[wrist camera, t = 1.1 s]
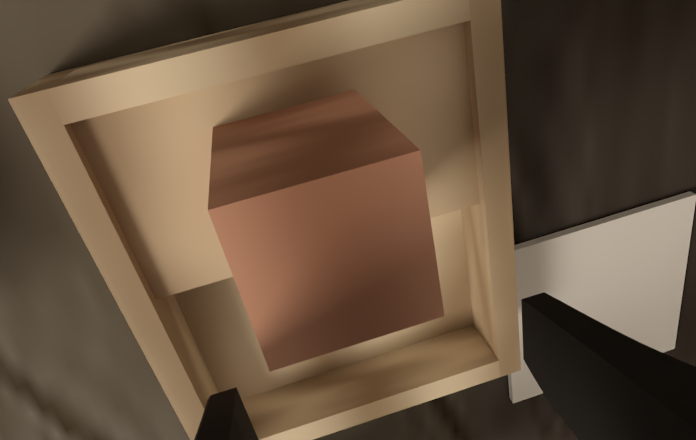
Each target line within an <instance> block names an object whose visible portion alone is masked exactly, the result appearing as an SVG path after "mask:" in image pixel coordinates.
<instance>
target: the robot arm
mask: <svg viewBox="0 0 696 440" xmlns="http://www.w3.org/2000/svg"><path fill="white" fill-rule="evenodd" d="M521 305H522V333H523V360H524V361H525V363H526V365H527V366H528V368H529V370H530V372H531V373H532V375H533V377H534V379H535V380H536V382H537V383H538V385H539V387H540V388H541V390H542V392H543V393H544V395H545V396H546V398H547V399H548V400H549V402H550V403H551V404H552V406H553V407H554V408H555V409H556V411H557V412H558V413H559V415H560V416H561V417H562V419H563V420H564V421H565V422H566V424H567V425H568V426H569V428H570V429H571V430H572V431H573V433H574V434H575V435H576V437H577V438H578V439H579V440H696V367H694V366H692V365H690V364H687V363H685V362H682V361H680V360H678V359H675V358H673V357H671V356H669V355H666V354H664V353H662V352H660V351H658V350H655V349H653V348H651V347H649V346H647V345H644V344H642V343H640V342H638V341H636V340H634V339H632V338H630V337H628V336H626V335H624V334H622V333H620V332H618V331H616V330H614V329H612V328H610V327H608V326H606V325H604V324H603V323H601V322H599V321H597V320H595V319H593V318H591V317H589V316H587V315H586V314H584V313H582V312H580V311H578V310H576V309H575V308H573V307H571V306H569V305H567V304H565V303H563V302H562V301H560V300H558V299H556V298H554V297H552V296H550V295H548V294H547V293H545V292H543V293H540V294H537V295H533V296H530V297H527V298H524V299H521ZM194 440H259V439H258V437H257V435H256V432H255V430H254V428H253V425H252V423H251V421H250V418H249V416H248V414H247V411H246V409H245V407H244V404H243V402H242V400H241V397H240V395H239V392H238V390H237V388H236V387H235V388H232V389H229V390H226V391H222V392H219V393H216V394H213V395H210V397H209V399H208V400H207V403H206V406H205V410H204V413H203V416H202V419H201V422H200V425H199V428H198V430H197V433H196V436H195V439H194Z"/></svg>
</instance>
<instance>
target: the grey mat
mask: <svg viewBox="0 0 696 440" xmlns="http://www.w3.org/2000/svg"><path fill="white" fill-rule="evenodd" d="M695 203H696V194H695V193H693V192H691V191H689V192H686V193H682V194H679V195H676V196H673V197H669V198H666V199H663V200H660V201H656V202H653V203H650V204H647V205H643V206H640V207H637V208H634V209H630V210H627V211H624V212H621V213H617V214H614V215H611V216H608V217H604V218H601V219H598V220H595V221H591V222H588V223H585V224H582V225H578V226H575V227H572V228H569V229H565V230H562V231H559V232H555V233H552V234H549V235H546V236H542V237H539V238H536V239H533V240H529V241H526V242H523V243H520V244H516V245H514V250H515V268H516V287H517V305H518V323H519V342H520V360H521V370H520V371H517V372H514V373H511V374H508V384H509V398H510V400H511V401H512V403H516V402H519V401H522V400H525V399H528V398H531V397H534V396H537V395H540V394H542V393H543V392H542V390H541V388H540V387H539V385H538V383H537V382H536V380H535V379H534V377H533V375H532V373H531V372H530V370H529V368H528V366H527V365H526V363H525V361H524V360H523V333H522V305H521V299H524V298H527V297H530V296H533V295H537V294H540V293H543V292H545V293H547V294H548V295H550V296H552V297H554V298H556V299H558V300H560V301H562V302H563V303H565V304H567V305H569V306H571V307H573V308H575V309H576V310H578V311H580V312H582V313H584V314H586V315H587V316H589V317H591V318H593V319H595V320H597V321H599V322H601V323H603V324H604V325H606V326H608V327H610V328H612V329H614V330H616V331H618V332H620V333H622V334H624V335H626V336H628V337H630V338H632V339H634V340H636V341H638V342H640V343H642V344H644V345H647V346H649V347H651V348H653V349H655V350H658V351H660V352H662V353H663V352H666V351H669V350H672V349H675V343H676V336H677V329H678V322H679V315H680V308H681V301H682V294H683V287H684V280H685V273H686V266H687V259H688V252H689V245H690V238H691V231H692V224H693V217H694V210H695Z"/></svg>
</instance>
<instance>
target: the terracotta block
mask: <svg viewBox="0 0 696 440" xmlns="http://www.w3.org/2000/svg"><path fill="white" fill-rule="evenodd" d="M208 212H209V215H210V218H211V220H212V223H213V225H214V228H215V231H216V233H217V236H218V238H219V241H220V244H221V246H222V249H223V251H224V254H225V257H226V259H227V262H228V264H229V267H230V270H231V272H232V275H233V277H234V280H235V283H236V285H237V288H238V290H239V293H240V296H241V298H242V301H243V303H244V306H245V309H246V311H247V314H248V316H249V319H250V322H251V324H252V327H253V329H254V332H255V335H256V337H257V340H258V342H259V345H260V348H261V350H262V353H263V355H264V358H265V361H266V363H267V366H268V368H269V371H270V372H271V371H274V370H277V369H280V368H283V367H286V366H290V365H293V364H296V363H299V362H302V361H305V360H308V359H312V358H315V357H318V356H321V355H324V354H327V353H330V352H334V351H337V350H340V349H343V348H346V347H349V346H353V345H356V344H359V343H362V342H365V341H368V340H371V339H375V338H378V337H381V336H384V335H387V334H390V333H393V332H397V331H400V330H403V329H406V328H409V327H412V326H416V325H419V324H422V323H425V322H428V321H431V320H434V319H438V318H441V317H444V309H443V302H442V295H441V288H440V281H439V274H438V267H437V260H436V253H435V246H434V239H433V232H432V226H431V219H430V212H429V205H428V198H427V191H426V184H425V177H424V170H423V163H422V156H421V150H420V149H419V148H418V147H417V146H416V145H414V144H413V143H412V142H411V141H410V140H409V139H408V138H407V137H406V136H405V135H404V134H402V133H401V132H400V131H399V130H398V129H397V128H396V127H395V126H394V125H393V124H392V123H390V122H389V121H388V120H387V119H386V118H385V117H384V116H383V115H382V114H381V113H380V112H379V111H377V110H376V109H375V108H374V107H373V106H372V105H371V104H370V103H369V102H368V101H367V100H365V99H364V98H363V97H362V96H361V95H360V94H359V93H358V92H357V91H356V90H352V91H348V92H344V93H340V94H337V95H333V96H329V97H325V98H322V99H318V100H314V101H310V102H307V103H303V104H299V105H295V106H291V107H288V108H284V109H280V110H276V111H273V112H269V113H265V114H261V115H258V116H254V117H250V118H246V119H243V120H239V121H235V122H231V123H228V124H224V125H220V126H216V127H213V132H212V148H211V165H210V181H209V197H208Z"/></svg>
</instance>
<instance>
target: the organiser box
mask: <svg viewBox="0 0 696 440" xmlns="http://www.w3.org/2000/svg"><path fill="white" fill-rule="evenodd" d="M352 90H356V91H357V92H358V93H359V94H360V95H361V96H362V97H363V98H364V99H365V100H367V101H368V102H369V103H370V104H371V105H372V106H373V107H374V108H375V109H376V110H377V111H379V112H380V113H381V114H382V115H383V116H384V117H385V118H386V119H387V120H388V121H389V122H390V123H392V124H393V125H394V126H395V127H396V128H397V129H398V130H399V131H400V132H401V133H402V134H404V135H405V136H406V137H407V138H408V139H409V140H410V141H411V142H412V143H413V144H414V145H416V146H417V147H418V148H419V149H420V150H421V156H422V163H423V170H424V177H425V184H426V191H427V198H428V205H429V212H430V219H431V226H432V232H433V239H434V246H435V253H436V260H437V267H438V274H439V281H440V288H441V295H442V302H443V309H444V317H441V318H438V319H434V320H431V321H428V322H425V323H422V324H419V325H416V326H412V327H409V328H406V329H403V330H400V331H397V332H393V333H390V334H387V335H384V336H381V337H378V338H375V339H371V340H368V341H365V342H362V343H359V344H356V345H353V346H349V347H346V348H343V349H340V350H337V351H334V352H330V353H327V354H324V355H321V356H318V357H315V358H312V359H308V360H305V361H302V362H299V363H296V364H293V365H290V366H286V367H283V368H280V369H277V370H274V371H271V372H270V371H269V368H268V366H267V363H266V361H265V358H264V355H263V353H262V350H261V348H260V345H259V342H258V340H257V337H256V335H255V332H254V329H253V327H252V324H251V322H250V319H249V316H248V314H247V311H246V309H245V306H244V303H243V301H242V298H241V296H240V293H239V290H238V288H237V285H236V283H235V280H234V277H233V275H232V272H231V270H230V267H229V264H228V262H227V259H226V257H225V254H224V251H223V249H222V246H221V244H220V241H219V238H218V236H217V233H216V231H215V228H214V225H213V223H212V220H211V218H210V215H209V212H208V197H209V181H210V165H211V148H212V132H213V127H216V126H220V125H224V124H228V123H231V122H235V121H239V120H243V119H246V118H250V117H254V116H258V115H261V114H265V113H269V112H273V111H276V110H280V109H284V108H288V107H291V106H295V105H299V104H303V103H307V102H310V101H314V100H318V99H322V98H325V97H329V96H333V95H337V94H340V93H344V92H348V91H352ZM8 101H9V103H10V105H11V106H12V108H13V110H14V112H15V114H16V116H17V118H18V119H19V121H20V123H21V125H22V127H23V129H24V131H25V132H26V134H27V136H28V138H29V140H30V142H31V144H32V146H33V147H34V149H35V151H36V153H37V155H38V157H39V159H40V160H41V162H42V164H43V166H44V168H45V170H46V172H47V173H48V175H49V177H50V179H51V181H52V183H53V185H54V187H55V188H56V190H57V192H58V194H59V196H60V198H61V200H62V201H63V203H64V205H65V207H66V209H67V211H68V213H69V214H70V216H71V218H72V220H73V222H74V224H75V226H76V228H77V229H78V231H79V233H80V235H81V237H82V239H83V241H84V242H85V244H86V246H87V248H88V250H89V252H90V254H91V256H92V257H93V259H94V261H95V263H96V265H97V267H98V269H99V270H100V272H101V274H102V276H103V278H104V280H105V282H106V283H107V285H108V287H109V289H110V291H111V293H112V295H113V297H114V298H115V300H116V302H117V304H118V306H119V308H120V310H121V311H122V313H123V315H124V317H125V319H126V321H127V323H128V324H129V326H130V328H131V330H132V332H133V334H134V336H135V338H136V339H137V341H138V343H139V345H140V347H141V349H142V351H143V352H144V354H145V356H146V358H147V360H148V362H149V364H150V365H151V367H152V369H153V371H154V373H155V375H156V377H157V379H158V380H159V382H160V384H161V386H162V388H163V390H164V392H165V393H166V395H167V397H168V399H169V401H170V403H171V405H172V407H173V408H174V410H175V412H176V414H177V416H178V418H179V420H180V421H181V423H182V425H183V427H184V429H185V431H186V433H187V434H188V436H189V438H190V440H194V439H195V436H196V433H197V430H198V428H199V425H200V422H201V419H202V416H203V413H204V410H205V406H206V403H207V400H208V399H209V397H210V395H213V394H216V393H219V392H222V391H226V390H229V389H232V388H235V387H236V388H237V390H238V392H239V395H240V397H241V400H242V402H243V404H244V407H245V409H246V411H247V414H248V416H249V418H250V421H251V423H252V425H253V428H254V430H255V432H256V435H257V437H258V439H259V440H313V439H316V438H319V437H322V436H325V435H328V434H331V433H334V432H337V431H340V430H343V429H346V428H349V427H352V426H355V425H358V424H361V423H364V422H367V421H370V420H373V419H376V418H379V417H382V416H385V415H388V414H391V413H394V412H397V411H400V410H403V409H406V408H409V407H412V406H415V405H418V404H421V403H424V402H427V401H430V400H433V399H436V398H439V397H442V396H445V395H448V394H451V393H454V392H457V391H460V390H463V389H466V388H469V387H472V386H475V385H478V384H481V383H484V382H487V381H490V380H493V379H496V378H499V377H502V376H505V375H508V374H511V373H514V372H517V371H520V370H521V360H520V342H519V323H518V305H517V287H516V268H515V250H514V232H513V214H512V195H511V177H510V159H509V140H508V122H507V104H506V85H505V67H504V49H503V31H502V12H501V0H348V1H344V2H340V3H336V4H332V5H328V6H323V7H319V8H315V9H311V10H307V11H303V12H299V13H295V14H291V15H287V16H283V17H279V18H275V19H271V20H267V21H263V22H259V23H255V24H251V25H247V26H243V27H239V28H235V29H231V30H226V31H222V32H218V33H214V34H210V35H206V36H202V37H198V38H194V39H190V40H186V41H182V42H178V43H174V44H170V45H166V46H162V47H158V48H154V49H150V50H146V51H142V52H138V53H134V54H129V55H125V56H121V57H117V58H113V59H109V60H105V61H101V62H97V63H93V64H89V65H85V66H81V67H77V68H73V69H69V70H65V71H61V72H57V73H53V74H49V75H46V76H45V77H43V78H41V79H40V80H38V81H37V82H35V83H33V84H32V85H30V86H28V87H27V88H25V89H23V90H22V91H20V92H18V93H17V94H15V95H14V96H12V97H10V98H9V99H8Z"/></svg>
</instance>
